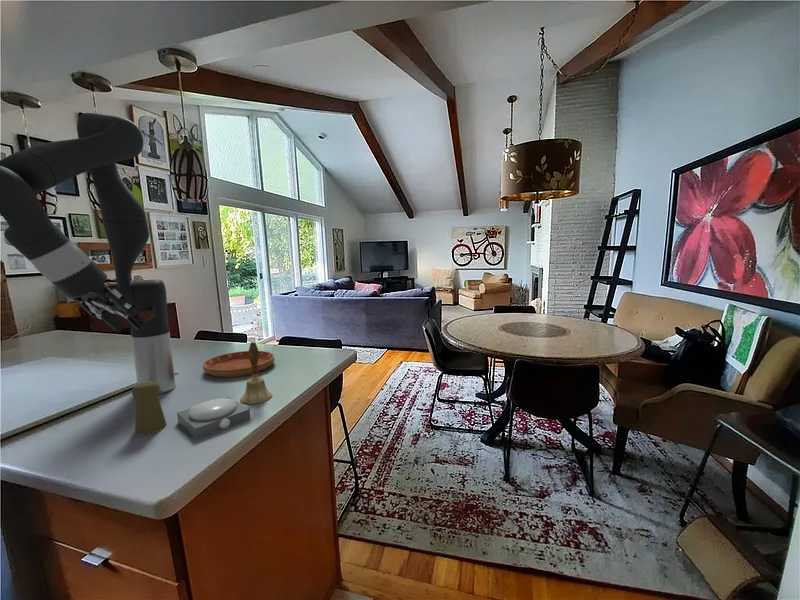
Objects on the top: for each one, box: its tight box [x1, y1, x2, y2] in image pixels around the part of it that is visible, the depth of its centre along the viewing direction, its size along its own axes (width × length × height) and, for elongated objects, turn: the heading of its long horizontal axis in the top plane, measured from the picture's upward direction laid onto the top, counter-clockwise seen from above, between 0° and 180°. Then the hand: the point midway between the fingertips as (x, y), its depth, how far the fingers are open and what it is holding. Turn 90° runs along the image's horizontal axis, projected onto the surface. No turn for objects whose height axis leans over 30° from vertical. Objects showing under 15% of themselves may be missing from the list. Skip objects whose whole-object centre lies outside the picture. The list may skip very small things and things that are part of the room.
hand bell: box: [239, 341, 273, 405], centre depth 96 cm, size 8×8×16 cm
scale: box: [176, 396, 251, 440], centre depth 84 cm, size 12×12×4 cm
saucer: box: [202, 350, 275, 378], centre depth 123 cm, size 23×23×4 cm
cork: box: [131, 381, 167, 436], centre depth 80 cm, size 6×6×11 cm
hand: (131, 327), depth 78 cm, fingers open, 8 cm apart
